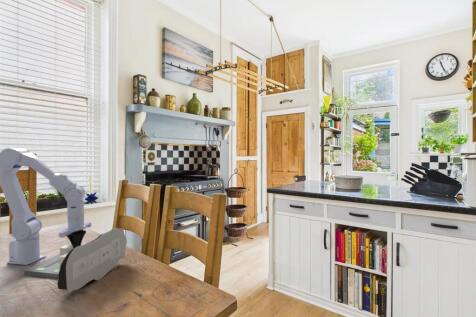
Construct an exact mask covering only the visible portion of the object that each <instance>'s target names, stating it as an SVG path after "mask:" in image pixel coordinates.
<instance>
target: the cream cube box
mask: <svg viewBox="0 0 476 317" xmlns="http://www.w3.org/2000/svg"><path fill="white" fill-rule="evenodd" d="M67 254H68V253H66V254H64V255H62V256H60V257H59V258H60V266H61V264H62V262H63V260H64V258H65V257H66V255H67Z"/></svg>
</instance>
